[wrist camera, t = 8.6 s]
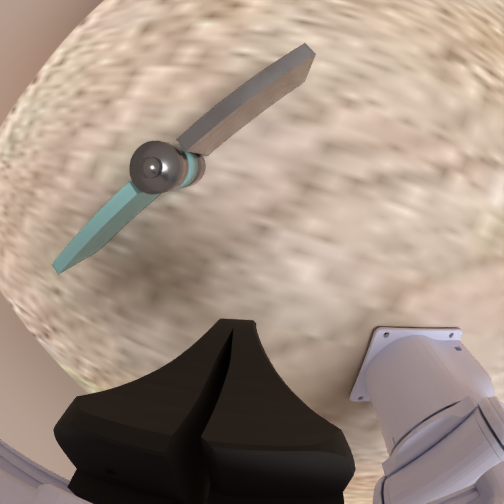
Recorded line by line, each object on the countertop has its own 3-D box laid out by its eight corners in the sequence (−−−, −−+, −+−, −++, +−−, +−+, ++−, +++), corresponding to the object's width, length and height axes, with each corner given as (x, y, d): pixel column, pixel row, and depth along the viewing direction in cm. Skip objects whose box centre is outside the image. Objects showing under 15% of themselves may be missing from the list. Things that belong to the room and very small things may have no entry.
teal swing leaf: (189, 139, 17) (161, 130, 12) (212, 170, 18) (191, 171, 13) (85, 234, 20) (44, 253, 15) (103, 261, 20) (66, 285, 15)
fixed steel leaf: (184, 194, 19) (146, 207, 13) (160, 165, 18) (114, 167, 12) (313, 91, 16) (332, 58, 10) (287, 63, 16) (294, 20, 10)
